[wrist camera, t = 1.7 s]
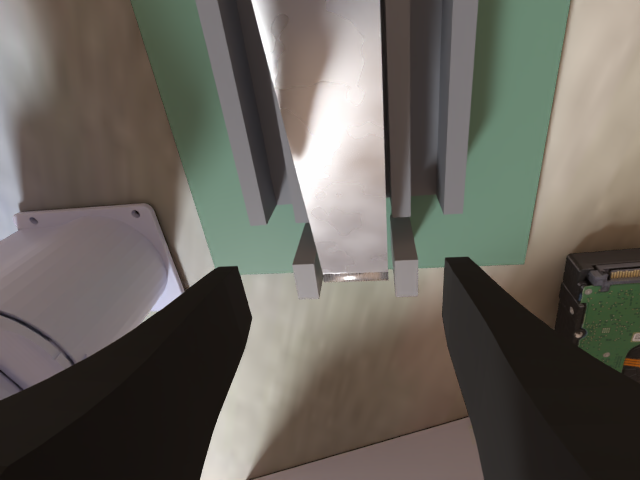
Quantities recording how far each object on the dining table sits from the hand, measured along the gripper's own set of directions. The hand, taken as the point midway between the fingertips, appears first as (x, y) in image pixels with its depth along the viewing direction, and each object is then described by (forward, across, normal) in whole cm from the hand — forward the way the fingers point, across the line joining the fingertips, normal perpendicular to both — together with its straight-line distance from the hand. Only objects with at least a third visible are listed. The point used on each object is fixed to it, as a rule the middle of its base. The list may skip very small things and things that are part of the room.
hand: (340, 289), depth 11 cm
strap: (+4, 0, -3) cm, 5 cm away
